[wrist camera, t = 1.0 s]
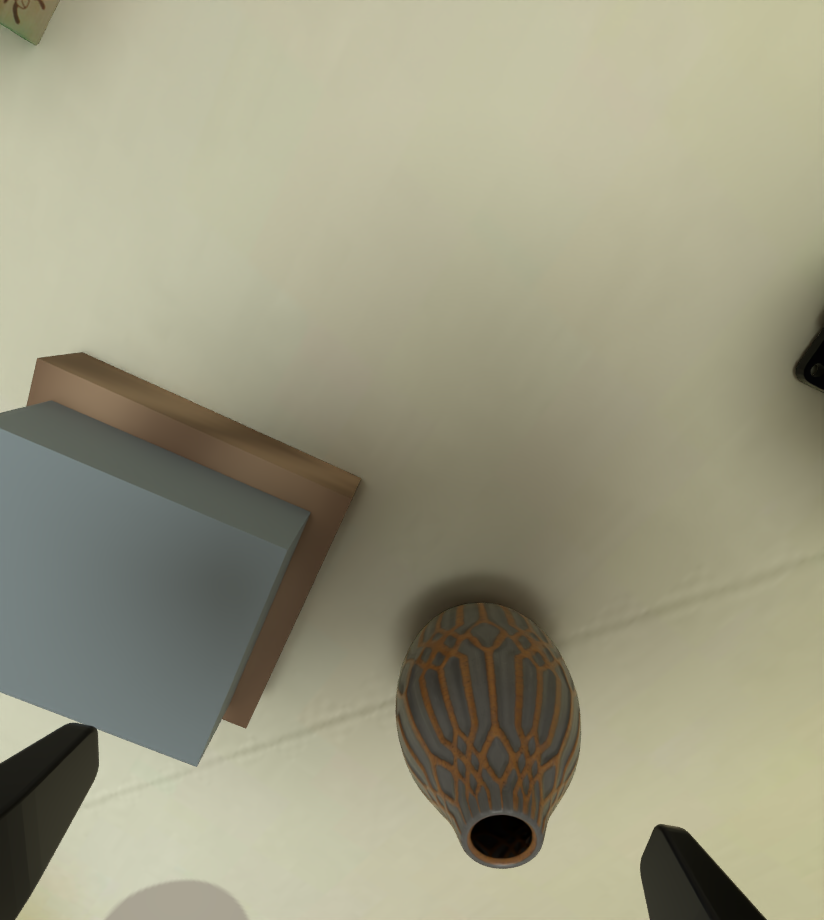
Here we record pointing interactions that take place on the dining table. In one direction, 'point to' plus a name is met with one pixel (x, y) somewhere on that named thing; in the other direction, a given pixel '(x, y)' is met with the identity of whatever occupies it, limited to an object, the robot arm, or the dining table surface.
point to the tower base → (228, 453)
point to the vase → (489, 728)
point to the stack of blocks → (27, 17)
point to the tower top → (130, 578)
